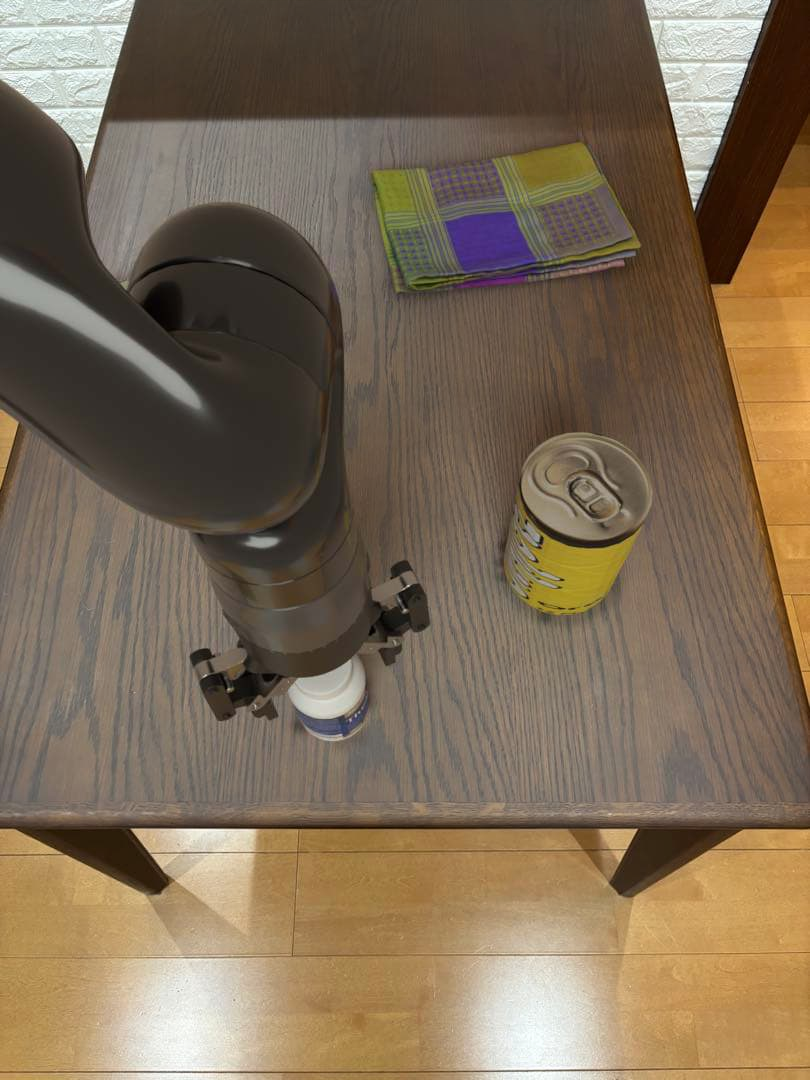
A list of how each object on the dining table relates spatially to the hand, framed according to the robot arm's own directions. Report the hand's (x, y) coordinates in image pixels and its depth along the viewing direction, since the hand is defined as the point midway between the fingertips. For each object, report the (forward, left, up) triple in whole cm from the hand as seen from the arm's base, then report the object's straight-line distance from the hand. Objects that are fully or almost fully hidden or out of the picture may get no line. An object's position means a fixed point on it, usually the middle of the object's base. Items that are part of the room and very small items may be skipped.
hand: (327, 679), depth 56 cm
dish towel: (+35, +39, -7) cm, 53 cm away
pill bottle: (0, 0, -7) cm, 7 cm away
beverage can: (+21, +3, -7) cm, 22 cm away
